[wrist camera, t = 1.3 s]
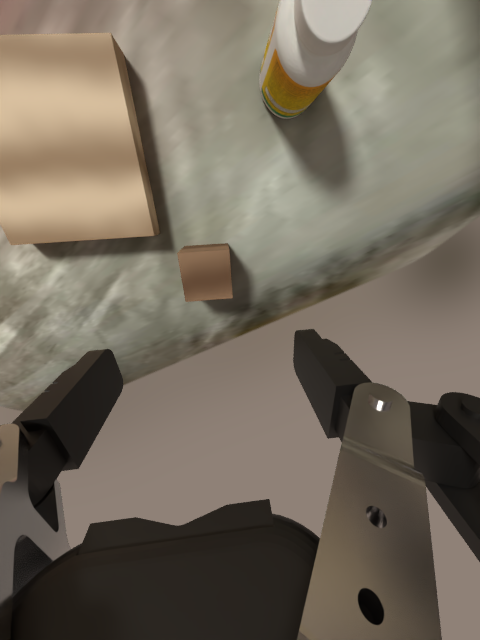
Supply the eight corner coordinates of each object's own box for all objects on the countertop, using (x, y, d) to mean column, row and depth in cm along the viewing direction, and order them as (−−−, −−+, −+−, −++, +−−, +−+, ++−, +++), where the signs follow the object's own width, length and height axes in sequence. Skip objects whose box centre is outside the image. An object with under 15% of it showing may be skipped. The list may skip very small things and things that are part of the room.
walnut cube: (184, 246, 25) (177, 253, 21) (227, 243, 26) (229, 249, 21) (191, 287, 28) (185, 301, 23) (230, 284, 28) (232, 298, 23)
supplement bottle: (255, 43, 19) (286, -101, 10) (317, 35, 19) (400, -115, 10) (261, 125, 21) (289, 65, 12) (316, 117, 21) (381, 52, 13)
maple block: (-47, 62, 18) (-94, 36, 15) (126, 58, 19) (110, 32, 16) (33, 241, 24) (10, 245, 22) (161, 233, 25) (154, 235, 22)
